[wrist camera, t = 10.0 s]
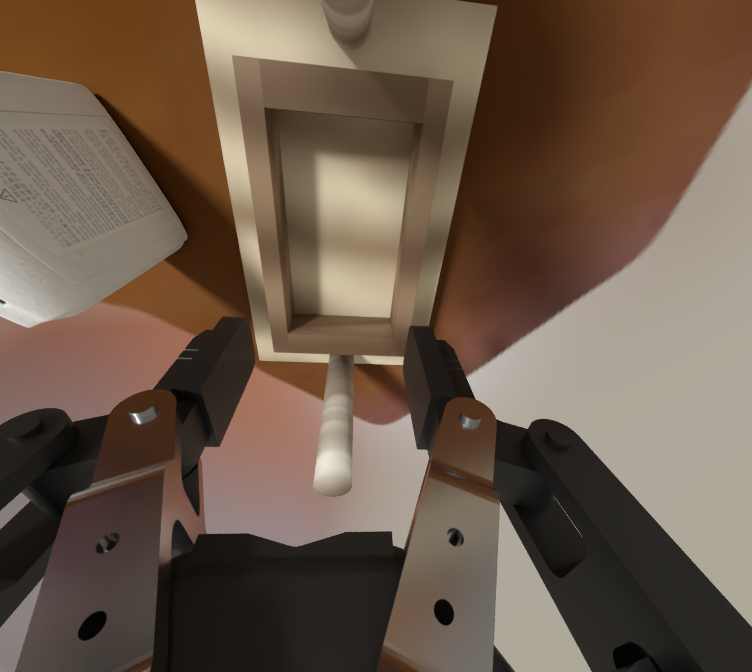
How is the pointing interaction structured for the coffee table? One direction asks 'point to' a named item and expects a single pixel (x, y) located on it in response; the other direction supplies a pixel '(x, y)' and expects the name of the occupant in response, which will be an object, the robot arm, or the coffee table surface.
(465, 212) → the coffee table surface
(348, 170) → the beige hollow frame piece
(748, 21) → the coffee table surface
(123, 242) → the photo printer
